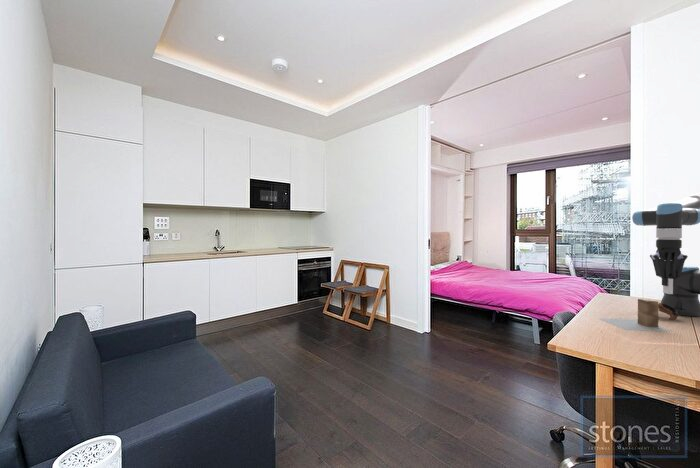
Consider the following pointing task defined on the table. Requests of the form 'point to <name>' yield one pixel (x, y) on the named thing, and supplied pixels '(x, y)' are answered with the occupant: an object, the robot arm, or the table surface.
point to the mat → (632, 325)
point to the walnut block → (648, 312)
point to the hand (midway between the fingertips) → (667, 293)
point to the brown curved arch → (665, 308)
